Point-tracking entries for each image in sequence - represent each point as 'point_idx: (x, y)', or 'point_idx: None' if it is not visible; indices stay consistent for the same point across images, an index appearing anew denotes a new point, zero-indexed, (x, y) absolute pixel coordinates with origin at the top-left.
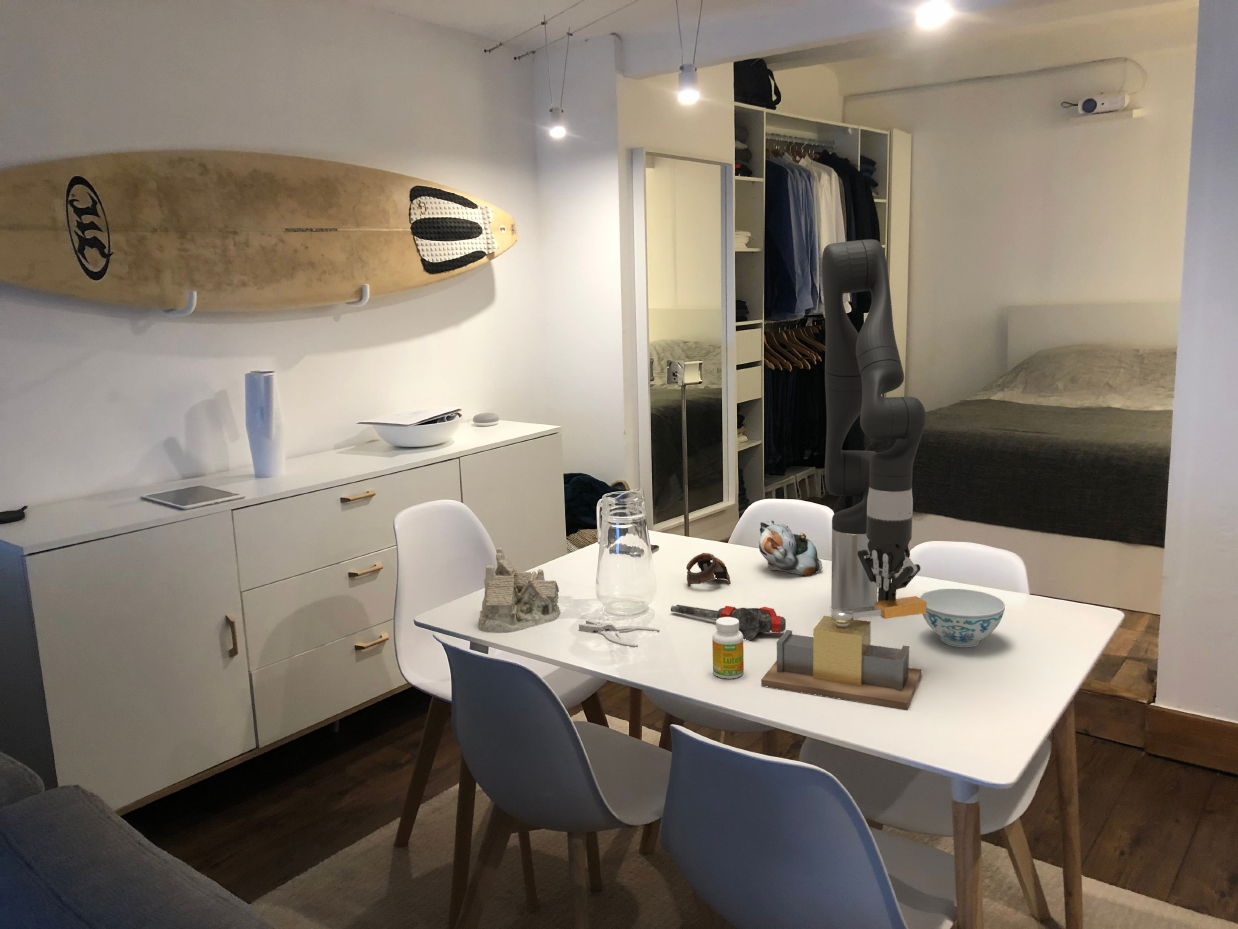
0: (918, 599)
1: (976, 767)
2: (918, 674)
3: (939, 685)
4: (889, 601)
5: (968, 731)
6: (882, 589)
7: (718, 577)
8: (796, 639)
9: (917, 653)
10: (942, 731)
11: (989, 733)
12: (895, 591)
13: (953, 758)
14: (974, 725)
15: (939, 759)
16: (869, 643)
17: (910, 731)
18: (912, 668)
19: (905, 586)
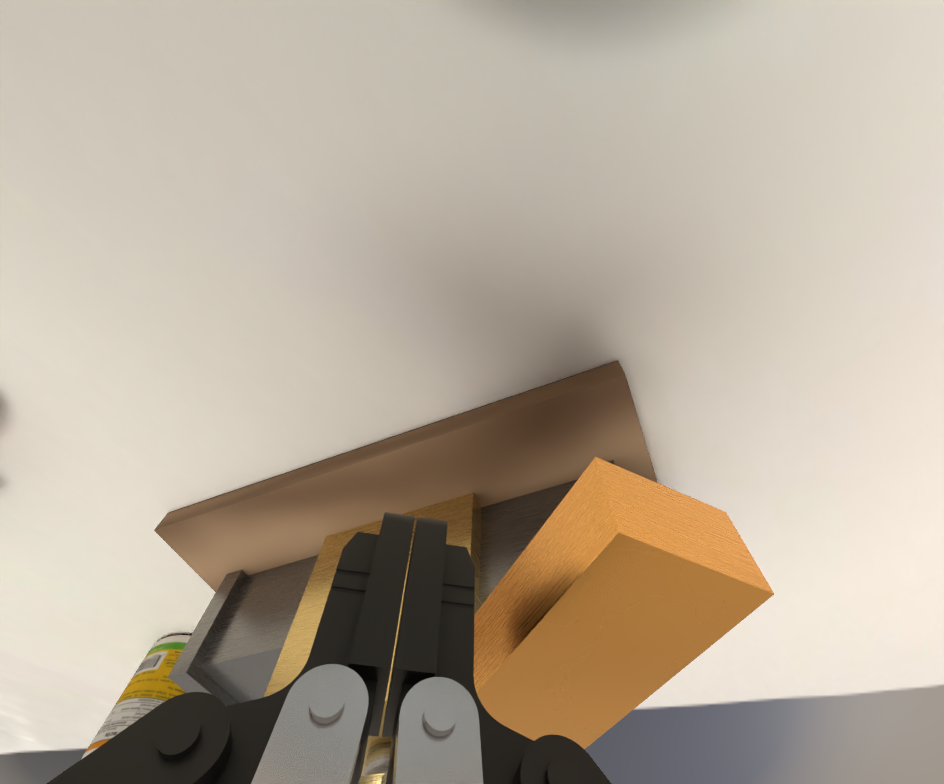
0: (682, 589)
1: (918, 675)
2: (635, 421)
3: (709, 385)
4: (502, 711)
5: (876, 576)
6: (374, 735)
7: None
8: (254, 687)
9: (476, 135)
10: (808, 607)
11: (937, 556)
12: (472, 685)
13: (861, 673)
14: (888, 544)
15: (832, 687)
16: (477, 598)
17: (733, 641)
18: (589, 389)
19: (593, 771)
